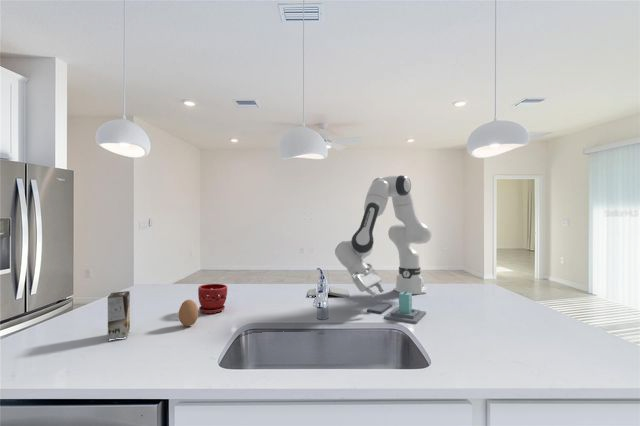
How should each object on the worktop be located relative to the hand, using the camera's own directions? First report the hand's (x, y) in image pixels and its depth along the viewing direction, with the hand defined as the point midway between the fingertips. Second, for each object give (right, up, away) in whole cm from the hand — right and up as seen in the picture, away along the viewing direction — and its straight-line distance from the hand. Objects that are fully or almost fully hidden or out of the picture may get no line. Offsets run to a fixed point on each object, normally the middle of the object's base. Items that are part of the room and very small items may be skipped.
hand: (379, 293), depth 159 cm
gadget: (-23, -9, +36) cm, 43 cm away
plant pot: (-78, -9, +4) cm, 79 cm away
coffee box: (-103, -9, -29) cm, 108 cm away
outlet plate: (+11, -8, -6) cm, 15 cm away
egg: (-81, -9, -18) cm, 84 cm away
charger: (+11, -7, -6) cm, 14 cm away
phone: (+1, -8, +5) cm, 10 cm away
